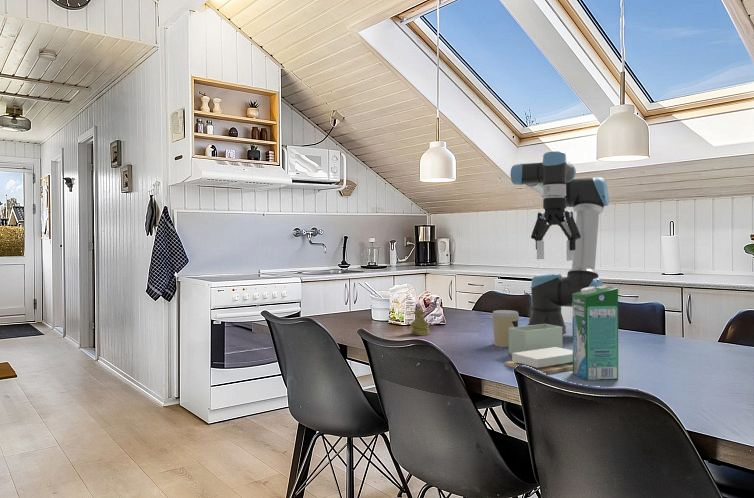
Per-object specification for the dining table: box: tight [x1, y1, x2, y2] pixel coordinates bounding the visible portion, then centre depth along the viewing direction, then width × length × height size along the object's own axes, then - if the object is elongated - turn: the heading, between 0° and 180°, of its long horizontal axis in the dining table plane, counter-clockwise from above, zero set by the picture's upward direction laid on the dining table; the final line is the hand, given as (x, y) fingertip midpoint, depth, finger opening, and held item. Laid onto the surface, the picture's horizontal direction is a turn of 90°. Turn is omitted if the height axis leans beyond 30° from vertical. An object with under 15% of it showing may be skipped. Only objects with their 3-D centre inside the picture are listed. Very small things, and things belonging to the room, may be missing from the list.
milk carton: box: [571, 285, 619, 381], centre depth 162 cm, size 9×9×25 cm
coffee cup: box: [491, 309, 520, 348], centre depth 209 cm, size 9×9×12 cm
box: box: [508, 324, 564, 357], centre depth 192 cm, size 16×8×9 cm, turn 119°
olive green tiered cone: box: [410, 308, 430, 336], centre depth 235 cm, size 7×8×10 cm
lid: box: [511, 347, 573, 368], centre depth 176 cm, size 18×10×3 cm, turn 119°
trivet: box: [504, 360, 573, 375], centre depth 176 cm, size 20×15×1 cm
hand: (554, 259), depth 200 cm, fingers open, 13 cm apart
